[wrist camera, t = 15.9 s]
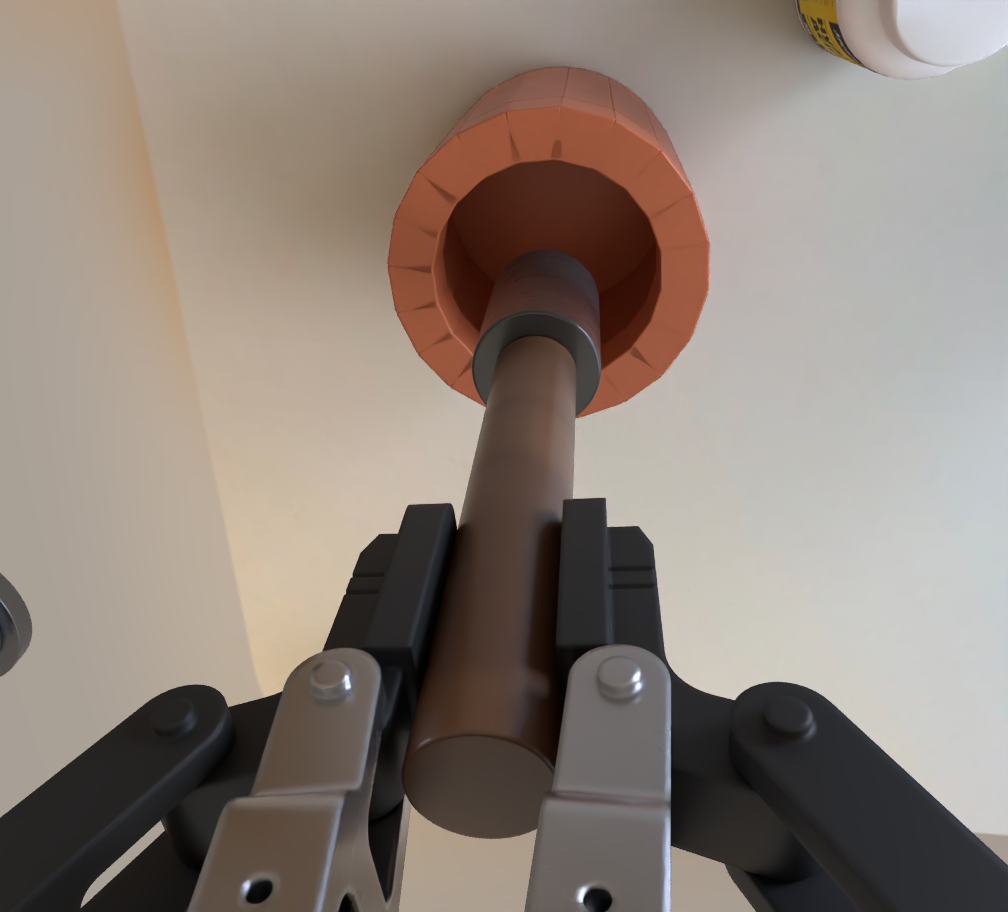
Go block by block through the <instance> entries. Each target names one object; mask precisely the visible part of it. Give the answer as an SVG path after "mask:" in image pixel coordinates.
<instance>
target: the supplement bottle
mask: <svg viewBox="0 0 1008 912" xmlns="http://www.w3.org/2000/svg"><path fill="white" fill-rule="evenodd" d="M795 3H796V9H797V13H798V16H799V19H800V21H801V24H802V26H803V28H804V29H805V31H806V33H807V34H808V35H809V36H810V38H811V39H812V40H813V41H814V42H815V43H816V44H817V45H819V46H820V47H821V48H823V49H824V50H826V51H827V52H829V53H831V54H833V55H836V56H838V57H840V58H843V59H845V60H848V61H850V62H852V63H854V64H857V65H859V66H861V67H864V68H867V69H869V70H871V71H873V72H875V73H878V74H881V75H884V76H887V77H892V78H896V79H904V80H920V79H926V78H932V77H936V76H939V75H942V74H945V73H947V72H950V71H952V70H954V69H956V68H958V67H960V66H963V65H968V64H971V63H974V62H977V61H980V60H982V59H984V58H986V57H988V56H990V55H992V54H994V53H995V52H997V51H998V50H1000V49H1001V48H1003V47H1004V46H1005V45H1006V44H1007V43H1008V0H795Z"/></svg>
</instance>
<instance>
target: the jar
mask: <svg viewBox="0 0 1008 912" xmlns="http://www.w3.org/2000/svg"><path fill="white" fill-rule="evenodd" d="M535 250H555V251H559V252H563V253H565V254H568V255H570V256H572V257H573V258H575V259H577V260H578V261H579V262H581V263H582V264H583V265H584V266H585V267H586V268H587V270H588V271H589V272H590V273H591V275H592V277H593V279H594V281H595V283H596V285H597V289H598V294H599V310H600V343H601V379H600V384H599V387H598V390H597V392H596V394H595V396H594V398H593V400H592V401H591V403H590V404H589V405H588V406H587V408H586V409H585V410H584V411H583V412H581V413H580V414H579V415H578V416H576V417H575V418H580V416H581V417H583V416H586V415H589V414H592V413H595V412H598V411H601V410H604V409H607V408H610V407H613V406H616V405H619V404H621V403H623V402H626V401H627V400H629V399H630V398H632V397H633V396H634V395H636V394H637V393H639V392H640V391H642V390H643V389H644V388H646V387H647V386H649V385H650V384H651V383H653V382H654V381H656V380H657V379H659V378H660V377H661V376H662V375H663V374H664V373H665V372H666V370H667V369H668V368H669V367H670V365H671V364H672V363H673V361H674V360H675V359H676V358H677V356H678V355H679V354H680V352H681V351H682V350H683V348H684V347H685V346H686V345H687V343H688V342H689V341H690V339H691V337H692V336H693V333H694V330H695V328H696V325H697V322H698V319H699V317H700V314H701V311H702V308H703V305H704V303H705V300H706V297H707V294H708V291H709V253H710V243H709V238H708V235H707V231H706V228H705V225H704V222H703V219H702V216H701V213H700V210H699V206H698V203H697V200H696V197H695V194H694V192H693V190H692V187H691V185H690V183H689V181H688V178H687V176H686V174H685V172H684V170H683V167H682V165H681V163H680V161H679V158H678V156H677V154H676V152H675V150H674V147H673V145H672V143H671V141H670V138H669V136H668V134H667V132H666V131H665V129H664V128H663V127H662V125H661V124H660V122H659V121H658V119H657V118H656V116H655V115H654V113H653V112H652V111H651V110H650V108H649V107H648V106H647V105H646V104H645V103H644V101H642V100H641V99H640V98H639V97H638V96H637V95H635V94H634V93H633V92H632V91H631V90H629V89H628V88H627V87H625V86H623V85H622V84H620V83H618V82H617V81H615V80H613V79H611V78H609V77H606V76H604V75H602V74H599V73H596V72H592V71H588V70H585V69H579V68H570V67H550V68H544V69H538V70H532V71H529V72H526V73H523V74H520V75H517V76H515V77H513V78H511V79H509V80H507V81H505V82H503V83H501V84H500V85H498V86H497V87H495V88H493V89H492V90H490V91H489V92H488V93H486V94H485V95H484V96H483V97H482V98H481V99H480V100H479V101H478V102H477V103H476V104H475V105H474V106H473V107H472V108H471V109H470V110H469V111H468V112H467V113H466V114H465V115H464V116H463V117H462V118H461V119H460V121H459V122H458V123H457V124H456V125H455V127H454V128H453V129H452V130H451V131H450V133H449V134H448V135H447V136H446V137H445V138H444V140H443V141H442V142H441V143H440V144H439V146H438V147H437V148H436V149H435V150H434V152H433V153H432V154H431V155H430V156H429V158H428V159H427V160H426V161H425V162H424V163H423V165H422V166H421V167H420V168H419V169H418V171H417V172H416V174H415V176H414V178H413V180H412V182H411V184H410V186H409V188H408V190H407V192H406V194H405V196H404V198H403V200H402V202H401V204H400V206H399V208H398V210H397V212H396V214H395V217H394V221H393V228H392V235H391V242H390V249H389V256H388V263H387V264H388V272H389V278H390V283H391V289H392V295H393V300H394V306H395V311H396V312H397V316H398V317H399V319H400V321H401V323H402V325H403V327H404V329H405V331H406V333H407V335H408V337H409V339H410V340H411V342H412V344H413V346H414V348H415V350H416V352H417V353H418V355H419V356H420V357H421V358H422V359H423V360H424V361H425V362H426V363H427V364H428V365H429V366H430V367H431V368H432V369H433V370H434V371H435V373H436V374H437V375H438V376H439V377H440V378H441V379H442V380H443V381H444V382H445V383H446V384H447V385H448V386H451V388H452V389H454V390H456V391H458V392H459V393H461V394H463V395H465V396H467V397H468V398H470V399H472V400H474V401H476V402H477V403H479V404H481V405H483V406H485V407H486V405H485V404H484V402H483V401H482V399H481V398H480V396H479V395H478V393H477V391H476V388H475V385H474V382H473V378H472V358H473V354H474V350H475V347H476V343H477V340H478V336H479V333H480V330H481V326H482V323H483V320H484V316H485V313H486V310H487V306H488V303H489V299H490V296H491V293H492V289H493V286H494V283H495V281H496V279H497V277H498V275H499V274H500V272H501V271H502V269H503V268H504V267H505V266H506V265H507V264H508V263H509V262H511V261H512V260H513V259H515V258H516V257H518V256H520V255H522V254H525V253H527V252H531V251H535Z"/></svg>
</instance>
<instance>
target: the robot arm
mask: <svg viewBox="0 0 1008 912" xmlns="http://www.w3.org/2000/svg"><path fill="white" fill-rule="evenodd" d="M456 534H457V526H456V519H455V513H454V509H453V506H452V504H451V503H444V504H416V505H408V507H407V509H406V511H405V514H404V517H403V520H402V523H401V526H400V529H399V532H398V534H379V535H378V536H377V537H376V538H375V539H374V540H373V541H372V542H371V543H370V544H369V545H368V546H367V547H366V548H365V549H364V550H363V551H362V552H361V553H360V556H359V558H358V561H357V564H356V566H355V569H354V571H353V578H351V579H350V582H349V584H348V587H347V589H346V595H344V597H343V600H342V602H341V605H340V607H339V610H338V612H337V615H336V618H335V620H334V623H333V625H332V628H331V631H330V633H329V636H328V638H327V641H326V643H325V646H324V649H323V651H322V652H321V653H318V654H316V655H314V656H312V657H310V658H308V659H307V660H305V661H304V662H302V663H301V664H300V665H299V666H297V667H296V668H295V669H294V671H293V672H292V673H291V674H290V676H289V677H288V679H287V681H286V683H285V686H284V689H283V691H282V692H280V693H277V694H275V695H272V696H268V697H265V698H261V699H258V700H254V701H250V702H246V703H243V704H238V705H235V706H231V707H228V706H227V703H226V701H225V698H224V696H223V695H222V694H221V693H220V692H219V691H218V690H216V689H215V688H212V687H210V686H205V685H187V686H181V687H177V688H174V689H171V690H168V691H166V692H164V693H162V694H160V695H158V696H156V697H155V698H153V699H151V700H150V701H149V702H147V703H146V704H144V705H143V706H142V707H141V708H139V709H138V710H137V711H136V712H134V713H133V714H132V715H130V716H129V717H128V718H127V719H125V720H124V721H123V722H122V723H120V724H119V725H118V726H116V727H115V728H114V729H113V730H111V731H110V732H109V733H108V734H106V735H105V736H104V737H102V738H101V739H100V740H99V741H97V742H96V743H95V744H94V745H92V746H91V747H90V748H88V749H87V750H86V751H85V752H83V753H82V754H81V755H80V756H78V757H77V758H76V759H75V760H73V761H72V762H71V763H69V764H68V765H67V766H66V767H64V768H63V769H62V770H60V771H59V772H58V773H57V774H55V775H54V776H53V777H52V778H50V779H49V780H48V781H46V782H45V783H44V784H43V785H41V786H40V787H39V788H38V789H36V790H35V791H34V792H32V793H31V794H30V795H29V796H27V797H26V798H25V799H24V800H22V801H21V802H20V803H18V804H17V805H16V806H15V807H13V808H12V809H11V810H10V811H9V812H7V813H6V814H4V815H3V816H2V817H1V818H0V912H399V902H400V894H401V886H402V878H403V869H404V860H405V851H406V844H407V835H408V826H409V818H410V809H411V803H410V802H409V800H408V798H407V796H406V794H405V792H404V789H403V785H402V779H401V771H402V766H403V762H404V758H405V753H406V749H407V745H408V740H409V736H410V732H411V727H412V723H413V719H414V715H415V710H416V706H417V702H418V697H419V693H420V689H421V685H422V680H423V676H424V672H425V667H426V663H427V659H428V655H429V650H430V646H431V642H432V637H433V633H434V629H435V624H436V620H437V616H438V612H439V607H440V603H441V599H442V594H443V590H444V586H445V581H446V577H447V573H448V569H449V564H450V560H451V556H452V551H453V547H454V543H455V539H456ZM0 646H1V635H0ZM556 654H557V664H558V675H559V686H560V689H561V691H562V693H563V696H564V698H565V704H564V711H563V718H562V725H561V732H560V738H559V745H558V752H557V759H556V766H555V773H554V780H553V786H552V790H551V792H545V794H544V796H543V800H542V804H541V809H540V814H539V821H538V827H537V834H536V840H535V847H534V853H533V860H532V866H531V873H530V879H529V885H528V892H527V899H526V905H525V911H524V912H671V846H673V847H677V848H679V849H682V850H686V851H689V852H692V853H695V854H697V855H700V856H703V857H706V858H710V859H713V860H716V861H718V862H721V863H724V864H725V866H726V869H727V871H728V873H729V875H730V876H731V878H732V880H733V881H734V883H735V884H736V885H737V887H738V888H739V889H740V891H741V892H742V893H743V894H744V896H745V897H746V898H747V900H748V901H749V903H750V904H751V905H752V907H753V908H754V909H755V911H756V912H1008V865H1007V864H1006V863H1005V862H1003V860H1001V859H1000V858H999V857H998V856H997V855H996V854H995V853H994V852H993V851H992V850H991V849H990V848H988V847H987V846H986V845H985V844H984V843H983V842H982V841H980V839H979V838H977V837H976V836H975V835H974V834H973V833H972V832H971V831H970V830H969V829H968V828H967V827H966V826H965V825H963V824H962V823H961V822H960V821H959V820H958V819H957V818H956V817H955V816H954V815H953V814H952V813H950V812H949V811H948V810H947V809H946V808H945V807H944V806H943V805H942V804H941V803H940V802H939V801H937V800H936V799H935V798H934V797H933V796H932V795H931V794H930V793H929V792H928V791H927V790H926V789H924V788H923V787H922V786H921V785H920V784H919V783H918V782H917V781H916V780H915V779H914V778H912V777H911V776H910V775H909V774H908V773H907V772H906V771H905V770H904V769H903V768H902V767H901V766H899V765H898V764H897V763H896V762H895V761H894V760H893V759H892V758H891V757H890V756H889V755H888V754H886V753H885V752H884V751H883V750H882V749H881V748H880V747H879V746H878V745H877V744H876V743H875V742H873V741H872V740H871V739H870V738H869V737H868V736H867V735H866V734H865V733H864V732H863V731H862V730H860V729H859V728H858V727H857V726H856V725H855V724H854V723H853V722H852V721H851V720H850V719H848V718H847V717H846V716H845V715H844V714H843V713H842V712H841V711H840V710H839V709H838V708H837V707H835V706H834V705H833V704H832V703H831V702H830V701H829V700H827V699H826V698H825V697H824V696H822V695H820V694H819V693H817V692H815V691H813V690H811V689H809V688H807V687H804V686H800V685H797V684H792V683H787V682H768V683H763V684H758V685H756V686H753V687H750V688H749V689H747V690H745V691H744V692H742V693H741V694H740V695H739V696H738V697H737V698H736V700H731V699H727V698H723V697H719V696H715V695H712V694H708V693H705V692H702V691H700V690H698V689H696V688H694V687H692V686H690V685H689V684H687V683H685V682H684V681H683V680H682V679H680V678H679V677H678V676H677V675H676V674H675V673H674V672H673V670H672V669H671V667H670V666H669V664H668V662H667V659H666V656H665V651H664V642H663V633H662V623H661V614H660V605H659V596H658V588H657V577H656V570H655V559H654V549H653V544H652V543H651V542H650V540H649V539H648V538H647V537H646V535H645V534H644V533H643V532H642V530H641V529H640V528H639V527H638V526H630V527H607V515H606V498H587V499H564V500H563V511H562V531H561V551H560V570H559V590H558V610H557V629H556ZM160 820H161V822H162V824H163V827H164V829H165V831H164V832H163V833H162V834H161V835H160V836H159V837H158V838H157V839H155V840H154V841H153V842H152V843H151V844H150V845H149V846H148V847H147V848H146V849H145V850H144V851H142V852H141V853H140V854H139V855H138V856H137V857H136V858H135V859H134V860H133V861H132V862H131V863H129V864H128V865H127V866H126V867H125V868H124V869H123V870H122V871H121V872H120V873H119V874H118V875H117V876H116V877H115V878H113V879H112V880H111V881H110V882H109V883H108V884H107V885H106V886H105V887H104V888H103V889H101V890H100V891H99V892H98V893H97V894H96V895H95V896H94V897H93V898H92V899H91V900H90V901H88V902H87V903H86V904H85V905H84V906H83V907H82V908H81V903H82V900H83V897H84V895H85V893H86V891H87V890H88V888H89V887H90V885H91V884H92V883H93V882H94V881H95V880H96V879H97V878H98V877H99V876H100V875H101V874H102V873H103V872H104V871H105V870H106V869H107V868H108V867H110V866H111V865H112V864H113V863H114V862H115V861H116V860H117V859H118V858H119V857H121V856H122V855H123V854H124V853H125V852H126V851H127V850H128V849H129V848H130V847H132V846H133V845H134V844H135V843H136V842H137V841H138V840H139V839H140V838H141V837H143V836H144V835H145V834H146V833H147V832H148V831H149V830H150V829H151V828H152V827H154V825H156V824H157V823H158V822H159V821H160Z"/></svg>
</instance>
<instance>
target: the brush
mask: <svg viewBox="0 0 1008 912" xmlns="http://www.w3.org/2000/svg"><path fill="white" fill-rule="evenodd" d="M472 378H473V382H474V385H475V388H476V391H477V393H478V395H479V396H480V398H481V399H482V401H483V402H484V404H485V405H486V410H485V414H484V418H483V422H482V427H481V431H480V435H479V440H478V444H477V448H476V452H475V457H474V461H473V465H472V470H471V474H470V478H469V483H468V487H467V491H466V495H465V500H464V504H463V508H462V513H461V517H460V521H459V526H458V530H457V534H456V539H455V543H454V547H453V551H452V556H451V560H450V564H449V569H448V573H447V577H446V581H445V586H444V590H443V594H442V599H441V603H440V607H439V612H438V616H437V620H436V624H435V629H434V633H433V637H432V642H431V646H430V650H429V655H428V659H427V663H426V667H425V672H424V676H423V680H422V685H421V689H420V693H419V697H418V702H417V706H416V710H415V715H414V719H413V723H412V727H411V732H410V736H409V740H408V745H407V749H406V753H405V758H404V762H403V766H402V771H401V779H402V785H403V789H404V792H405V794H406V796H407V798H408V800H409V802H410V803H411V804H412V806H413V807H414V808H415V809H416V810H417V811H418V812H419V813H420V814H421V815H422V816H424V817H425V818H426V819H427V820H429V821H431V822H432V823H434V824H436V825H437V826H439V827H441V828H443V829H446V830H448V831H451V832H454V833H457V834H460V835H464V836H469V837H475V838H486V839H501V838H510V837H514V836H519V835H523V834H525V833H529V832H531V831H533V830H536V829H537V827H538V821H539V814H540V809H541V804H542V800H543V796H544V794H545V792H551V790H552V786H553V780H554V773H555V766H556V759H557V752H558V745H559V738H560V732H561V725H562V718H563V711H564V704H565V698H564V696H563V693H562V691H561V689H560V686H559V675H558V664H557V654H556V629H557V610H558V590H559V570H560V551H561V531H562V511H563V500H564V499H573V475H574V442H575V417H576V416H578V415H579V414H580V413H581V412H583V411H584V410H585V409H586V408H587V406H588V405H589V404H590V403H591V401H592V400H593V398H594V396H595V394H596V392H597V390H598V387H599V384H600V379H601V343H600V310H599V294H598V289H597V285H596V283H595V281H594V279H593V277H592V275H591V273H590V272H589V271H588V270H587V268H586V267H585V266H584V265H583V264H582V263H581V262H579V261H578V260H577V259H575V258H573V257H572V256H570V255H568V254H565V253H563V252H559V251H555V250H535V251H531V252H527V253H525V254H522V255H520V256H518V257H516V258H515V259H513V260H512V261H511V262H509V263H508V264H507V265H506V266H505V267H504V268H503V269H502V271H501V272H500V274H499V275H498V277H497V279H496V281H495V283H494V286H493V289H492V293H491V296H490V299H489V303H488V306H487V310H486V313H485V316H484V320H483V323H482V326H481V330H480V333H479V336H478V340H477V343H476V347H475V350H474V354H473V358H472Z"/></svg>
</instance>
